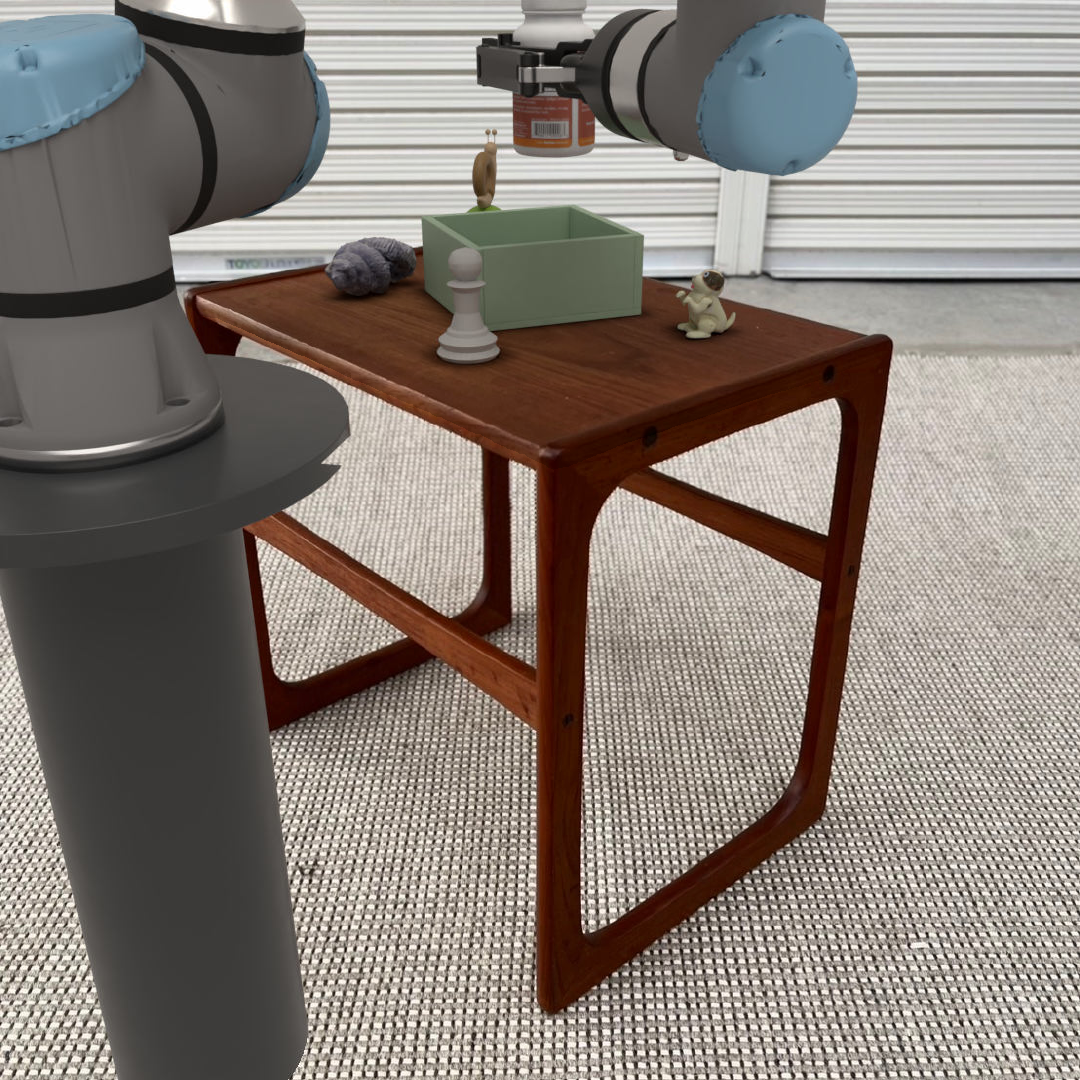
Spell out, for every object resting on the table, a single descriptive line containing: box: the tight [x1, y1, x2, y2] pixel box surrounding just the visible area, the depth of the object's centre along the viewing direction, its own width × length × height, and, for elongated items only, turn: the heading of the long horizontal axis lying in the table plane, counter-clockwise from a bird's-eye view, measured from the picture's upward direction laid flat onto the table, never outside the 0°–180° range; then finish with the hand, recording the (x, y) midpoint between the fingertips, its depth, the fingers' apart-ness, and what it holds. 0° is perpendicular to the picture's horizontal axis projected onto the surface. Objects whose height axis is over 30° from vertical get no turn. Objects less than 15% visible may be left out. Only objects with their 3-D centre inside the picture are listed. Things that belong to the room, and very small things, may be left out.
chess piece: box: [436, 247, 501, 365], centre depth 84 cm, size 5×5×8 cm
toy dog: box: [675, 269, 736, 339], centre depth 90 cm, size 4×5×5 cm
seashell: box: [324, 236, 418, 297], centre depth 102 cm, size 5×5×10 cm
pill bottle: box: [511, 0, 596, 159], centre depth 84 cm, size 6×6×11 cm
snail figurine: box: [465, 128, 502, 213], centre depth 112 cm, size 5×6×12 cm
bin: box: [420, 204, 645, 332], centre depth 98 cm, size 15×15×7 cm
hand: (529, 56), depth 88 cm, fingers closed on pill bottle, 6 cm apart
